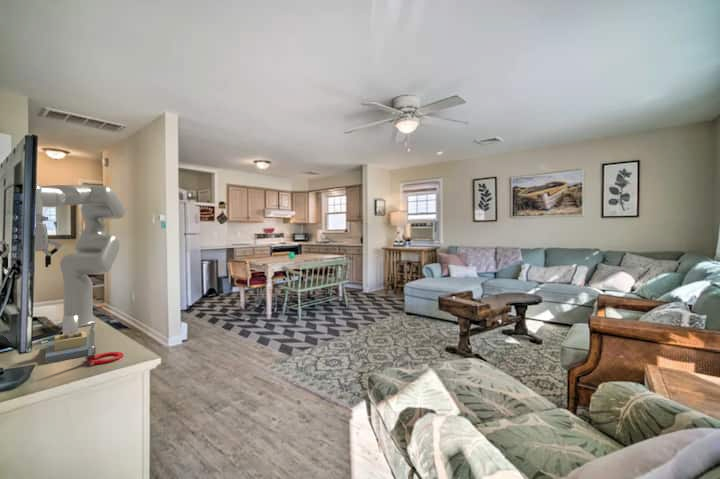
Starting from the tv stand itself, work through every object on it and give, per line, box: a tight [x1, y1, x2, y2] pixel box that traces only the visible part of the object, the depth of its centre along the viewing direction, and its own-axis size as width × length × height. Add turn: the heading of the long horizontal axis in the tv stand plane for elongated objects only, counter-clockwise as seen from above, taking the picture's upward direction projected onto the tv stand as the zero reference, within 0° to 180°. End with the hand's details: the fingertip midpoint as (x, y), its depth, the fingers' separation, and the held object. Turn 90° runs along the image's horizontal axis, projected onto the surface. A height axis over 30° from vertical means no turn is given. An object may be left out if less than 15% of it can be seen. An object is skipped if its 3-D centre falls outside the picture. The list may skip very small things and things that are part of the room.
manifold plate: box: [44, 330, 96, 364], centre depth 108 cm, size 18×12×5 cm, turn 44°
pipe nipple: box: [62, 315, 79, 340], centre depth 108 cm, size 4×4×10 cm
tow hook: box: [85, 322, 124, 367], centre depth 101 cm, size 8×13×9 cm
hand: (27, 267), depth 110 cm, fingers open, 9 cm apart
